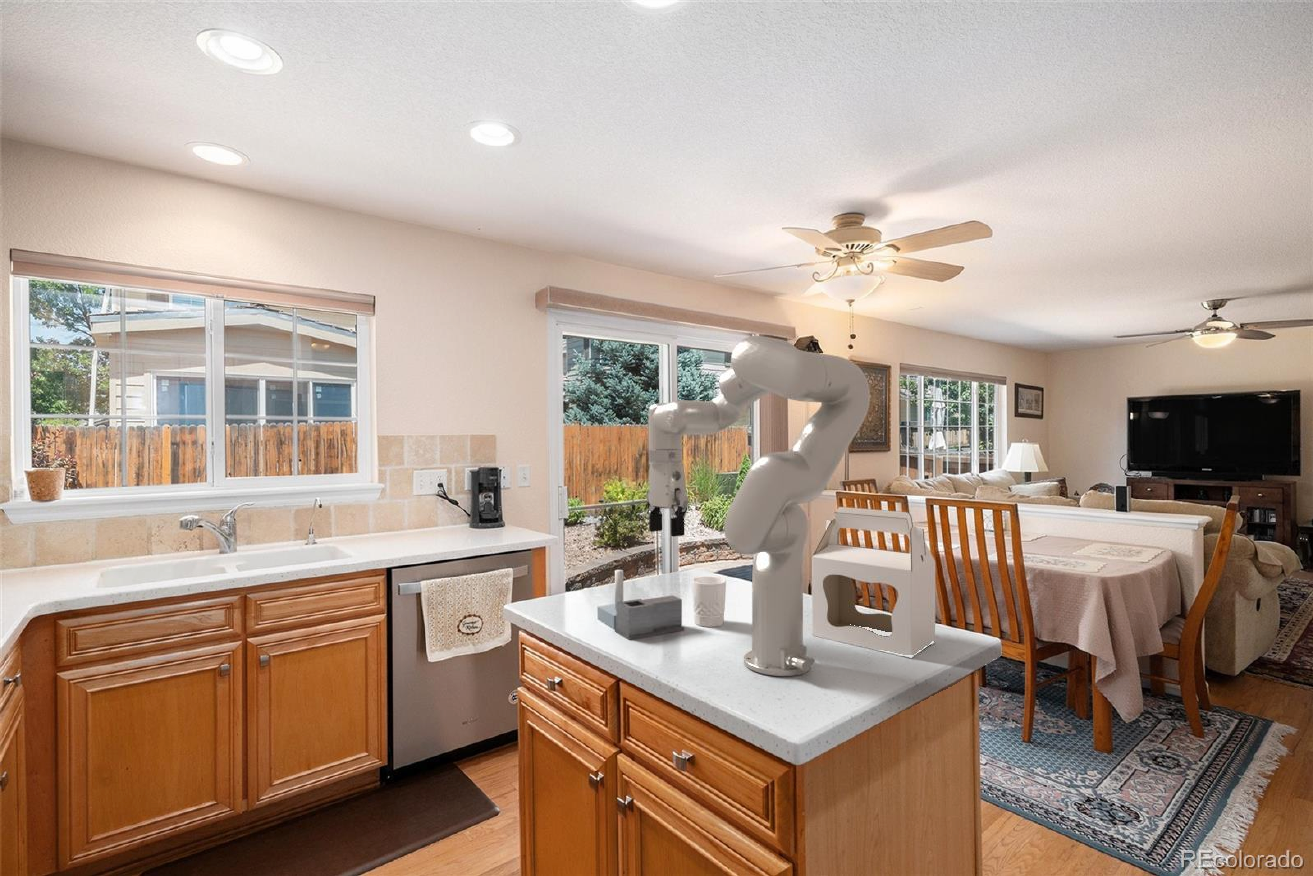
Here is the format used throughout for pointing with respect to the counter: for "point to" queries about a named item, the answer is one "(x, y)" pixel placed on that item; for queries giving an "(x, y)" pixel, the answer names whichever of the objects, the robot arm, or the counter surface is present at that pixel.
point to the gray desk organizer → (648, 615)
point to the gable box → (874, 566)
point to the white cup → (709, 601)
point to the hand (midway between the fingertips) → (666, 533)
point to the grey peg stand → (609, 611)
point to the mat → (656, 632)
